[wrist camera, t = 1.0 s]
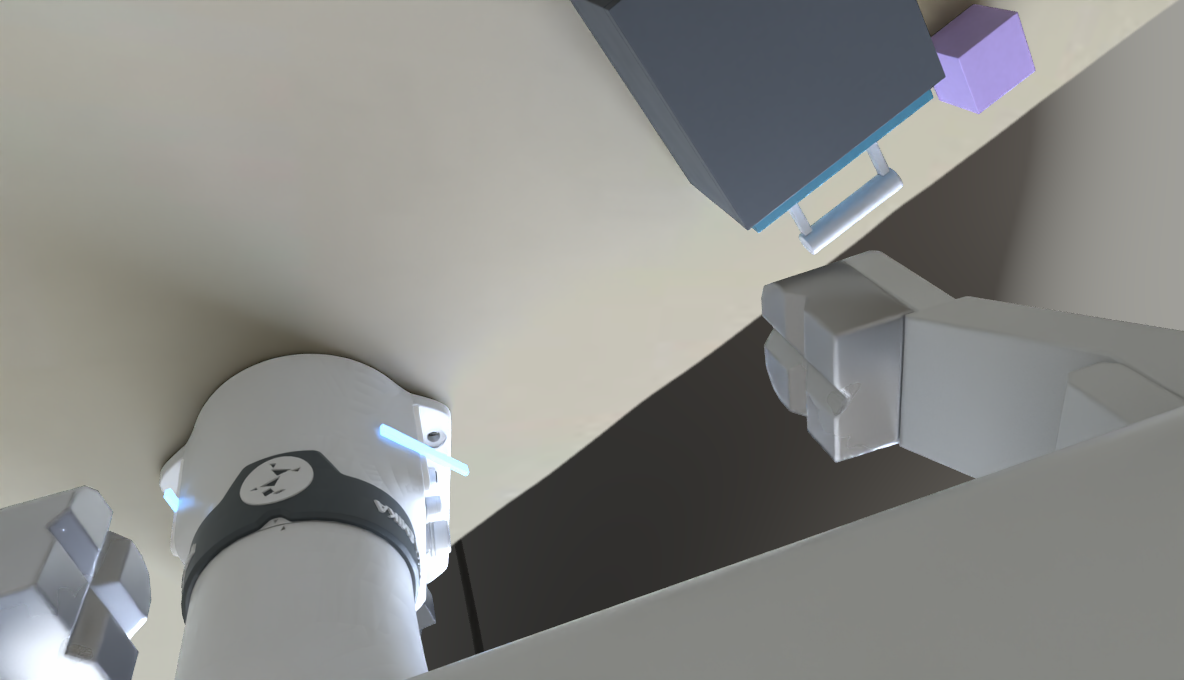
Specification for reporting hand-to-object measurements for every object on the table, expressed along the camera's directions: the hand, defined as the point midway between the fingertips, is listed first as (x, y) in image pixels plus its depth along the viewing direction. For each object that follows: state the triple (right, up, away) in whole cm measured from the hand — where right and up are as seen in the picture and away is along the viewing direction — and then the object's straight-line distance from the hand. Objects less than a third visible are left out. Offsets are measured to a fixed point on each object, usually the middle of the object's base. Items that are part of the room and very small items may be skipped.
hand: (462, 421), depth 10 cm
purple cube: (+26, +20, +43) cm, 54 cm away
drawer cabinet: (+9, +20, +38) cm, 44 cm away
